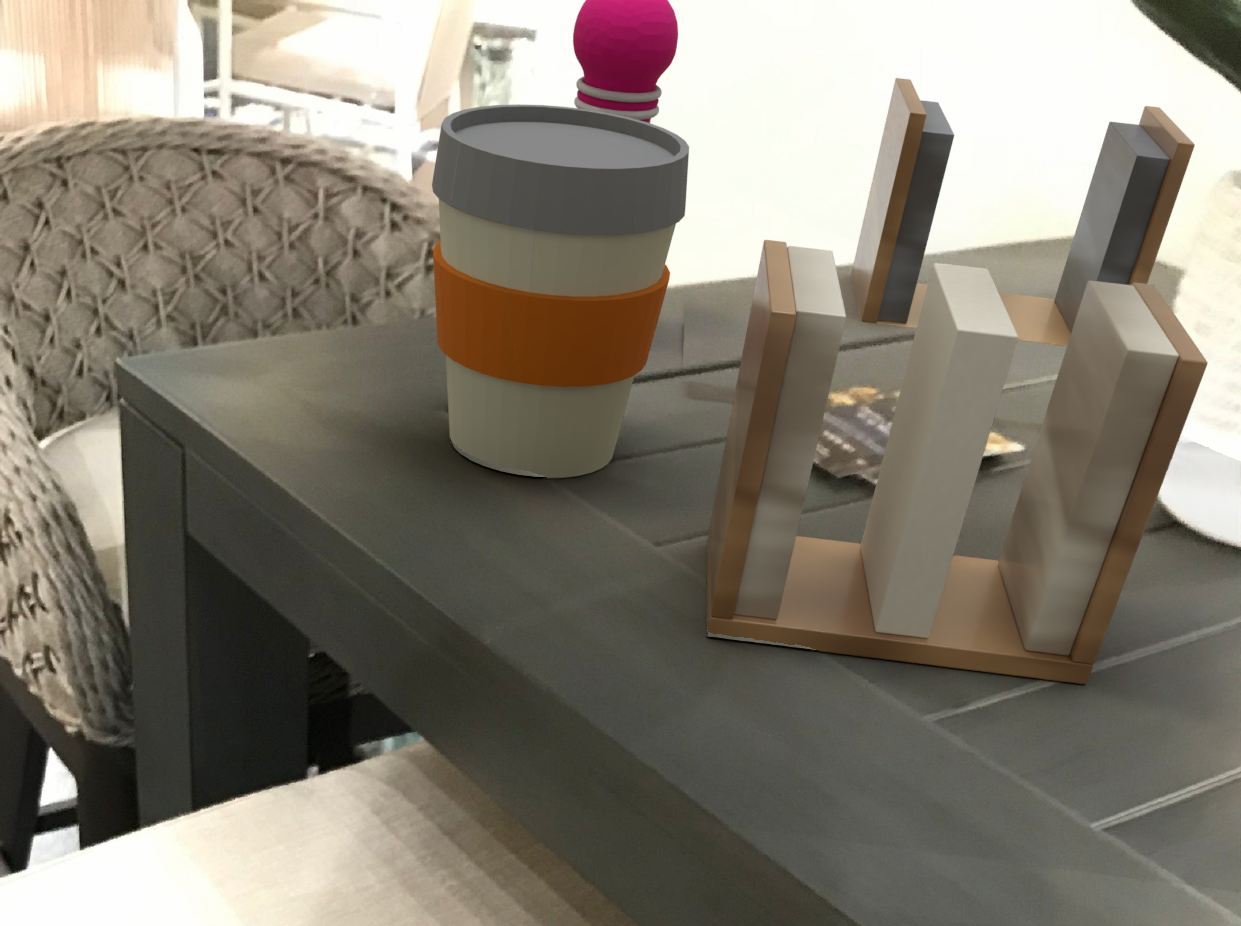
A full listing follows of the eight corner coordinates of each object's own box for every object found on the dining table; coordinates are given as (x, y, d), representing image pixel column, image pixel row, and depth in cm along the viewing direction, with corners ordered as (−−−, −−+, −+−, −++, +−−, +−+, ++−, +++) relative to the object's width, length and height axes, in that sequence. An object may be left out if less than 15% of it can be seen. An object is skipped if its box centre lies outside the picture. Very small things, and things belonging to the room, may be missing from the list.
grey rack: (1091, 318, 113) (1160, 107, 104) (1119, 367, 105) (1195, 144, 96) (847, 290, 113) (895, 77, 105) (857, 336, 106) (910, 112, 97)
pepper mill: (664, 325, 104) (722, -45, 91) (611, 353, 100) (665, -33, 86) (567, 298, 107) (610, -66, 94) (511, 324, 102) (548, -55, 89)
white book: (909, 553, 79) (988, 268, 70) (928, 639, 72) (1019, 336, 63) (859, 547, 79) (933, 261, 70) (874, 632, 72) (957, 328, 63)
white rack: (1050, 586, 79) (1155, 284, 70) (1086, 685, 72) (1208, 362, 63) (706, 543, 80) (764, 238, 71) (706, 637, 73) (771, 310, 63)
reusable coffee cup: (677, 434, 91) (728, 134, 81) (597, 512, 82) (644, 186, 72) (473, 385, 94) (498, 90, 84) (376, 455, 85) (390, 135, 75)
